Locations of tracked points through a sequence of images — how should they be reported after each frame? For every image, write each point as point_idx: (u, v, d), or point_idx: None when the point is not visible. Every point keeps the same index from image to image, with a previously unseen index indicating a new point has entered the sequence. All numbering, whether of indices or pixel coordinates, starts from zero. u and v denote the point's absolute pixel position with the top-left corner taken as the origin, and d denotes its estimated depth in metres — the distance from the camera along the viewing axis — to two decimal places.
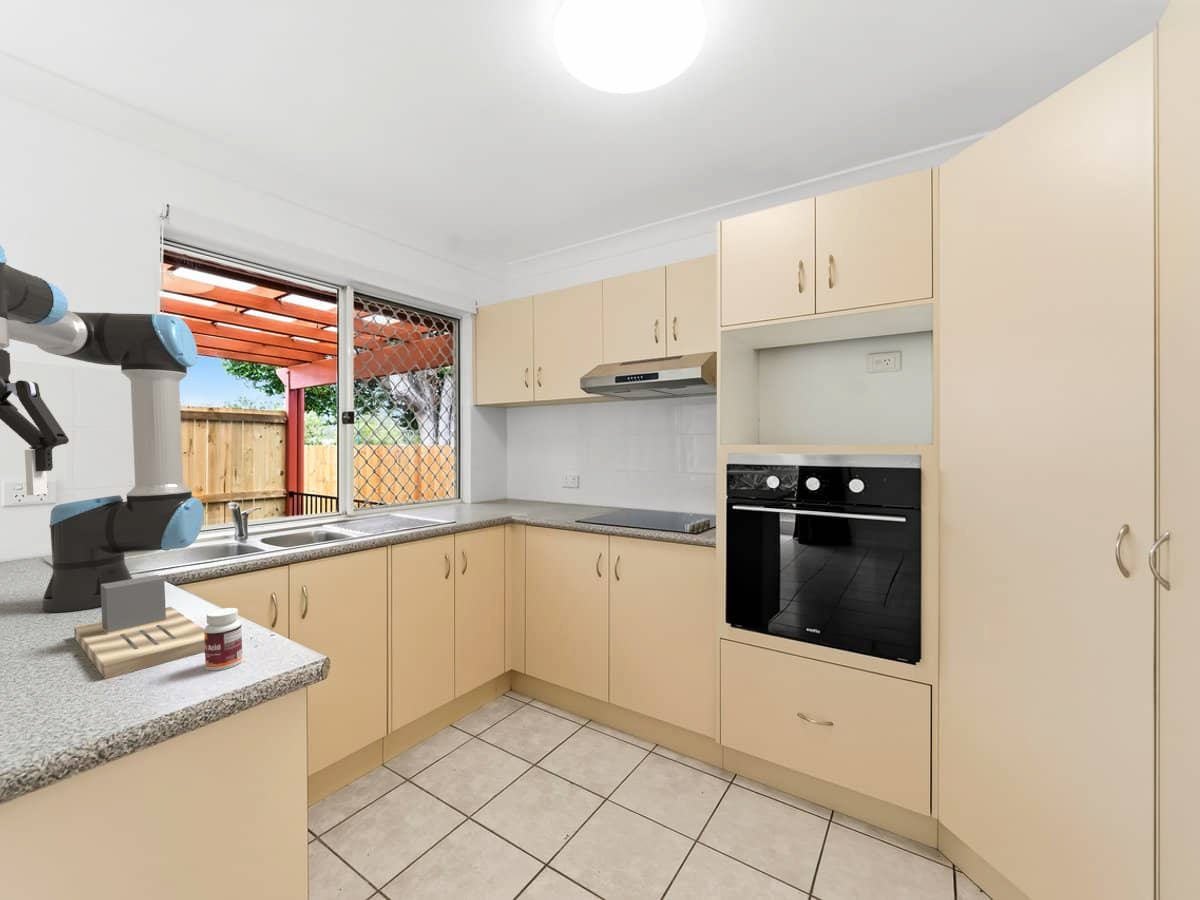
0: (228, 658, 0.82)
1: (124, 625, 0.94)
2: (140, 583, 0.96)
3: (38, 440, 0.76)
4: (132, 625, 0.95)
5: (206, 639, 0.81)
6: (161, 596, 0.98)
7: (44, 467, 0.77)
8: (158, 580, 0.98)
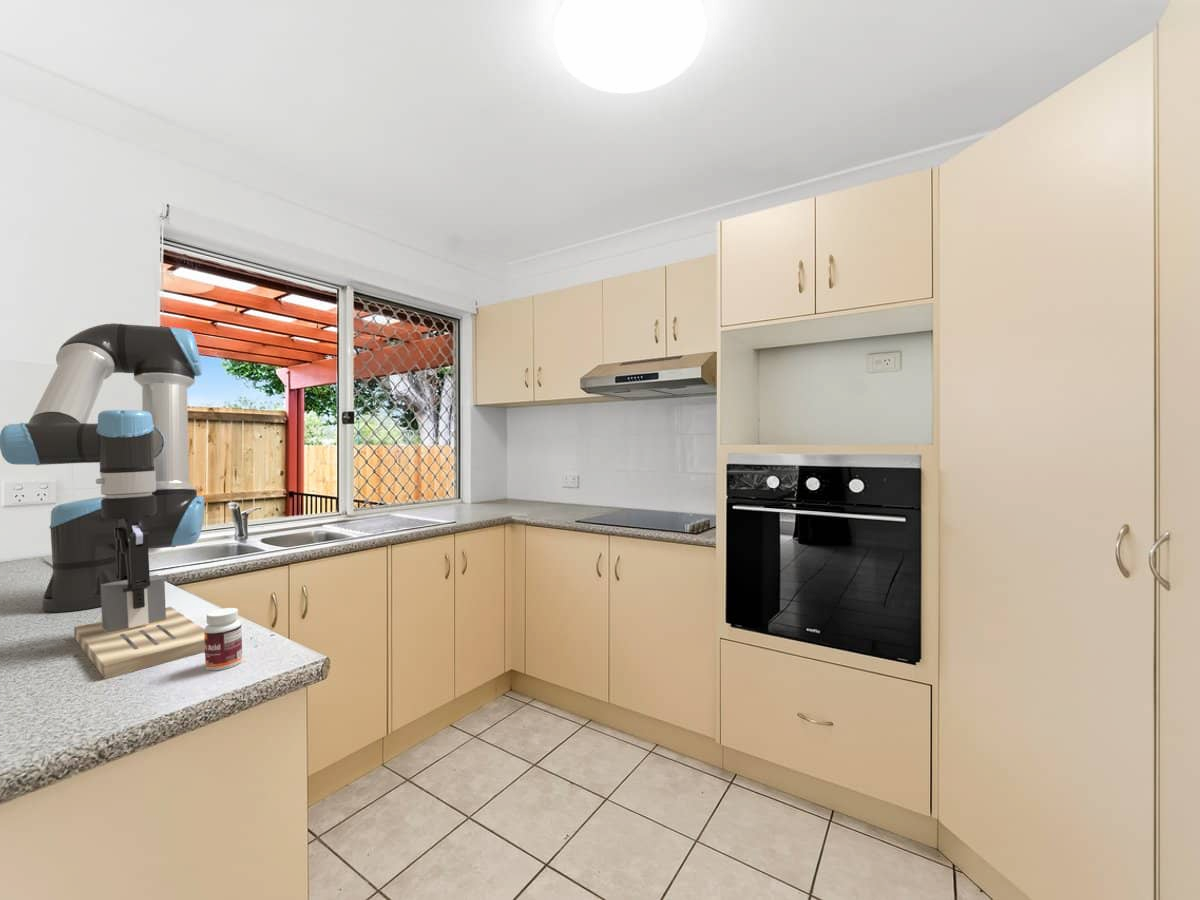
0: (228, 658, 0.82)
1: (124, 625, 0.94)
2: None
3: (129, 585, 0.93)
4: None
5: (206, 639, 0.81)
6: (161, 596, 0.98)
7: (134, 606, 0.94)
8: (158, 580, 0.98)
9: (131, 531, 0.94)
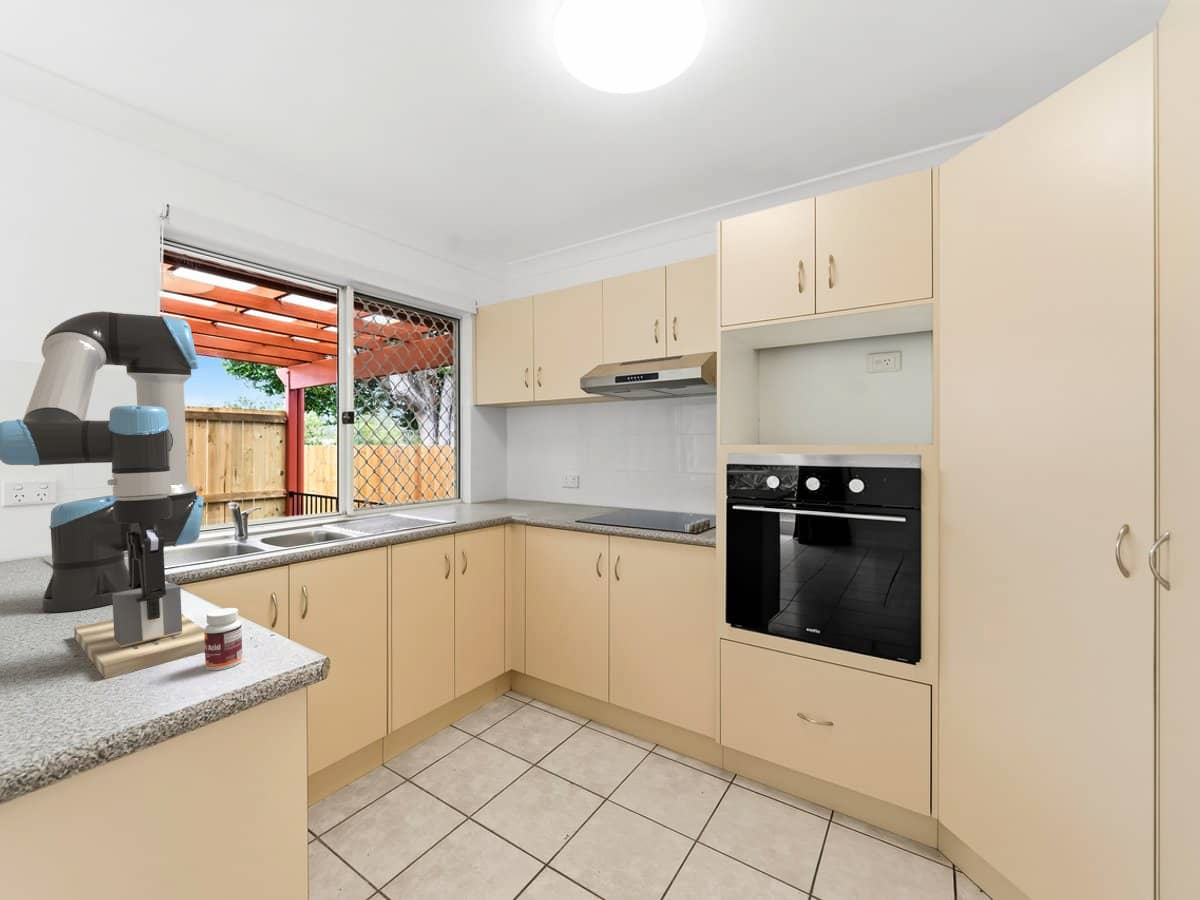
0: (228, 658, 0.82)
1: (138, 637, 0.87)
2: None
3: (144, 594, 0.87)
4: None
5: (206, 639, 0.81)
6: (177, 605, 0.91)
7: (148, 617, 0.87)
8: (174, 588, 0.91)
9: (145, 536, 0.87)
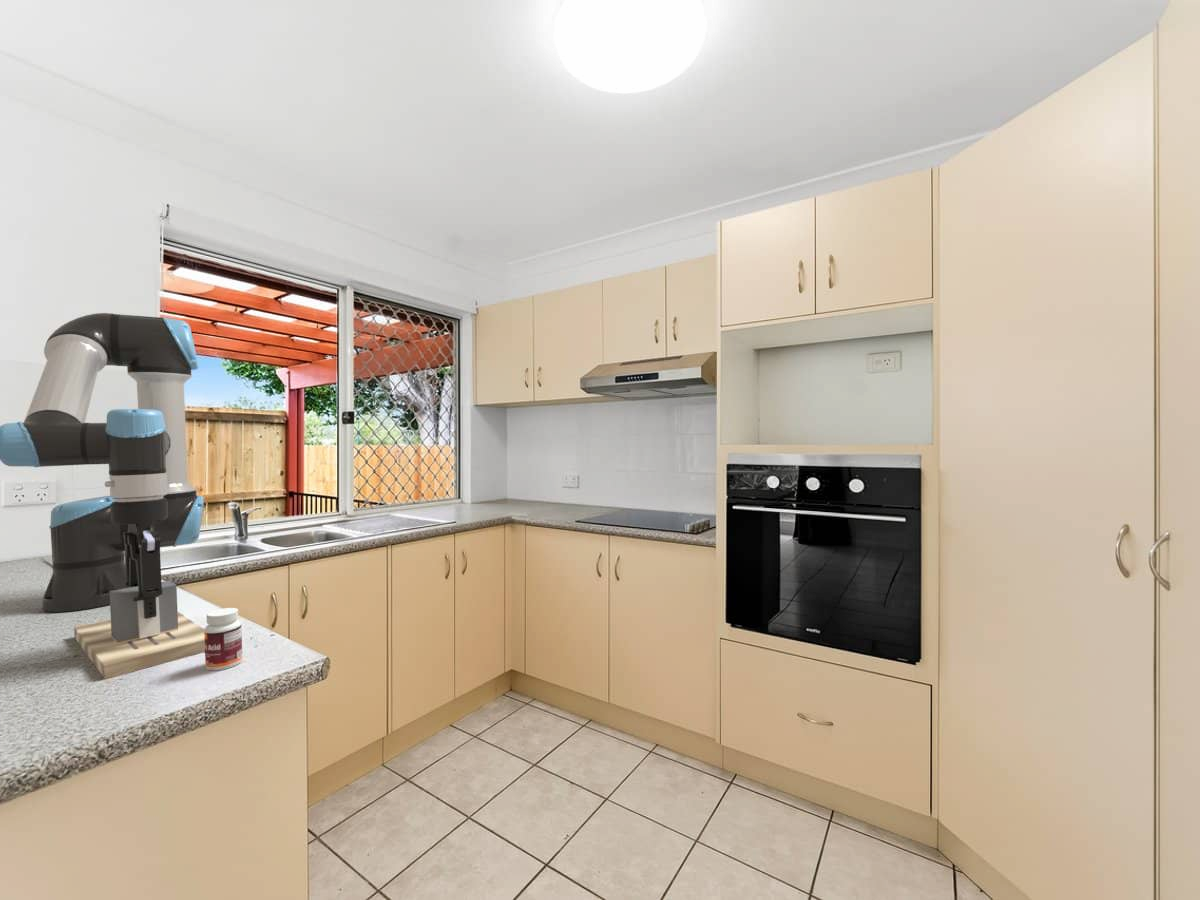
0: (228, 658, 0.82)
1: (135, 634, 0.89)
2: None
3: (140, 594, 0.89)
4: None
5: (206, 639, 0.81)
6: (173, 603, 0.93)
7: (145, 615, 0.89)
8: (170, 586, 0.93)
9: (142, 537, 0.89)
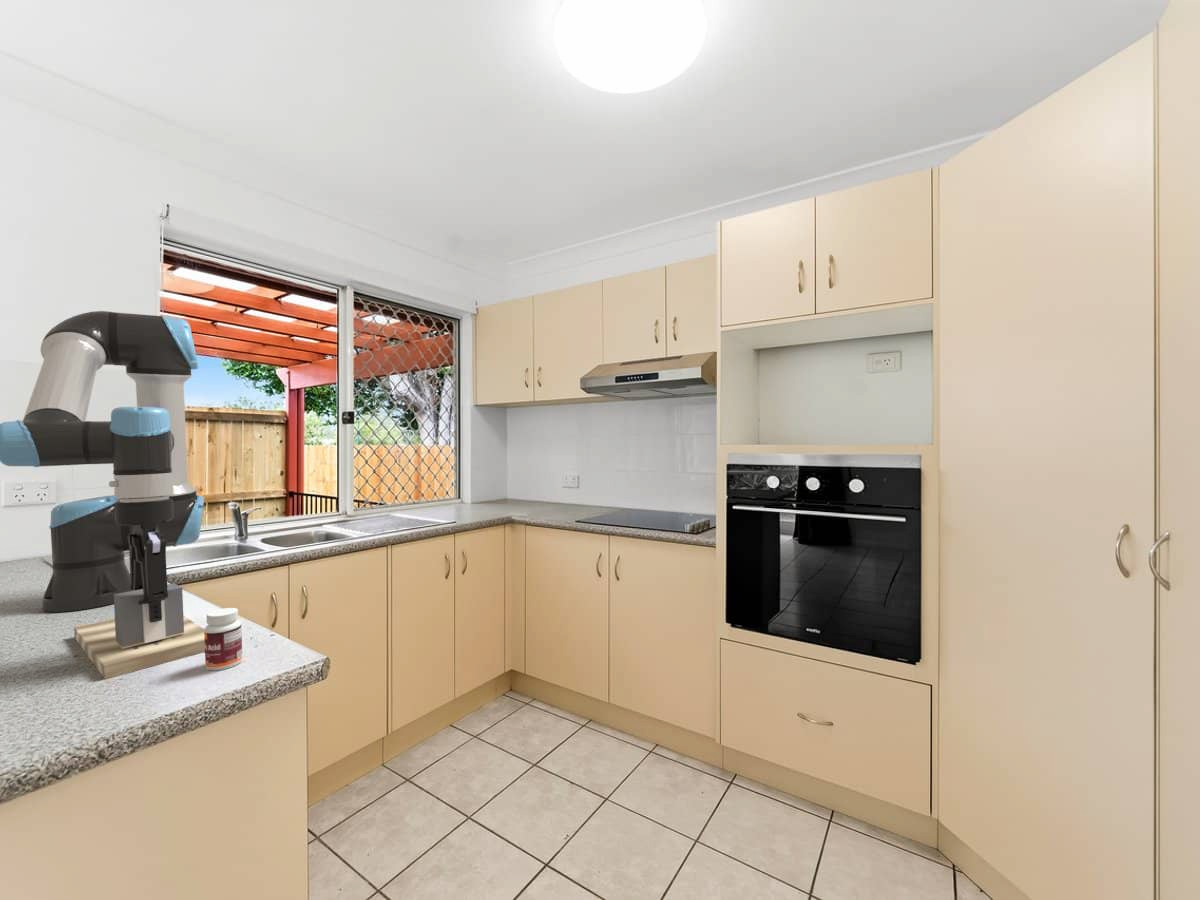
0: (228, 658, 0.82)
1: (140, 638, 0.87)
2: None
3: (146, 597, 0.86)
4: None
5: (206, 639, 0.81)
6: (179, 607, 0.91)
7: (150, 619, 0.86)
8: (176, 589, 0.90)
9: (147, 538, 0.86)
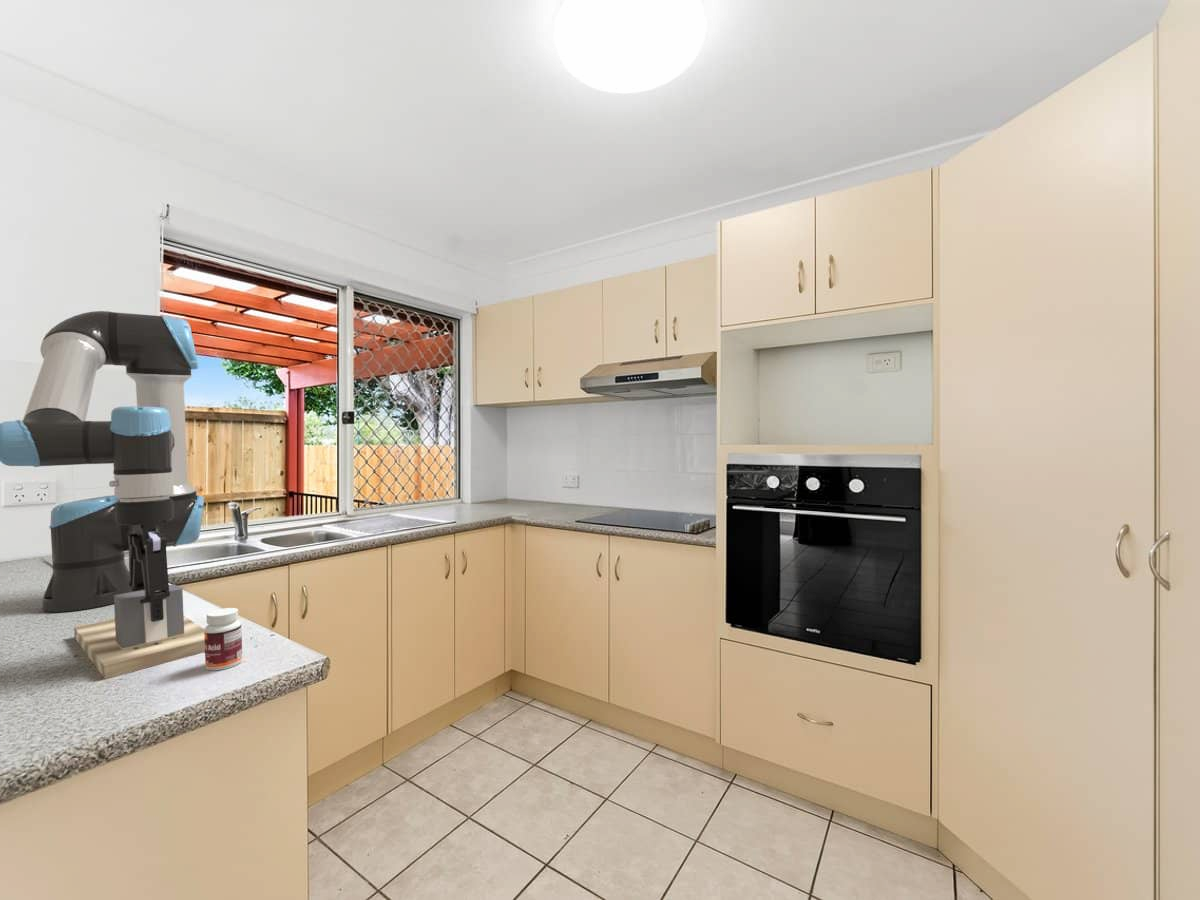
0: (228, 658, 0.82)
1: (140, 639, 0.87)
2: None
3: (147, 596, 0.85)
4: None
5: (206, 639, 0.81)
6: (179, 608, 0.91)
7: (152, 618, 0.86)
8: (176, 590, 0.90)
9: (147, 537, 0.86)
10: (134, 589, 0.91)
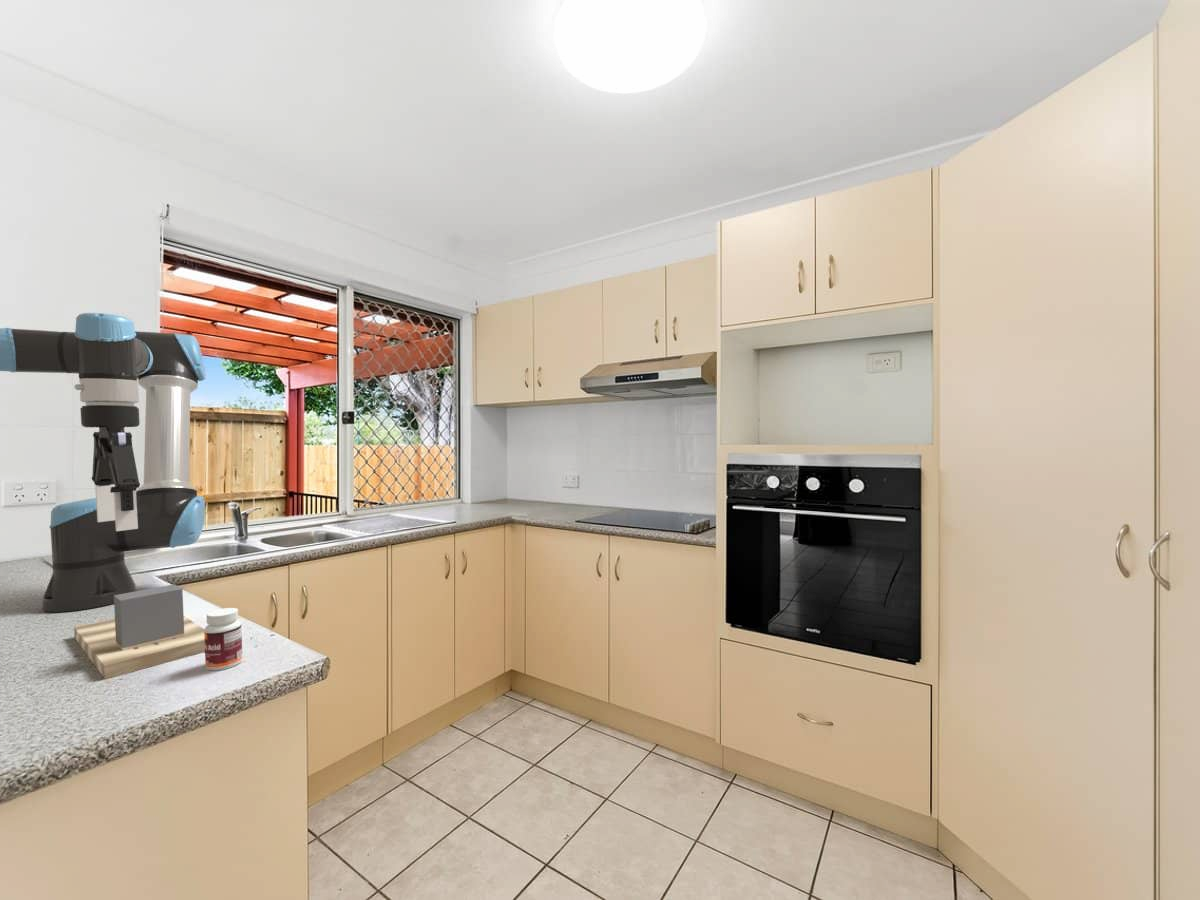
0: (228, 658, 0.82)
1: (140, 639, 0.87)
2: (157, 594, 0.88)
3: (117, 484, 0.88)
4: (148, 640, 0.87)
5: (206, 639, 0.81)
6: (179, 608, 0.91)
7: (122, 508, 0.88)
8: (176, 590, 0.90)
9: None
10: (97, 483, 0.97)
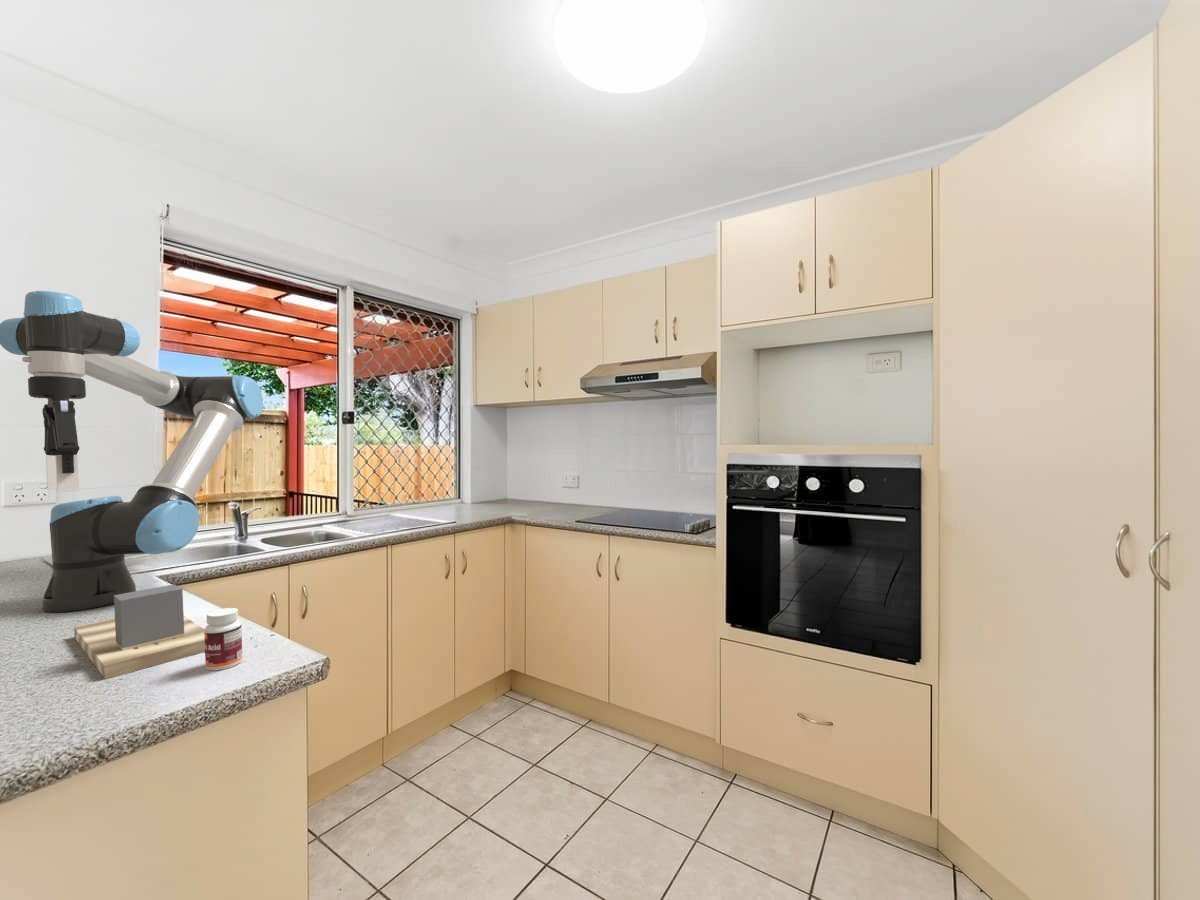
0: (228, 658, 0.82)
1: (140, 639, 0.87)
2: (157, 594, 0.88)
3: (58, 448, 0.94)
4: (148, 640, 0.87)
5: (206, 639, 0.81)
6: (179, 608, 0.91)
7: (63, 470, 0.94)
8: (176, 590, 0.90)
9: None
10: (47, 452, 1.03)
